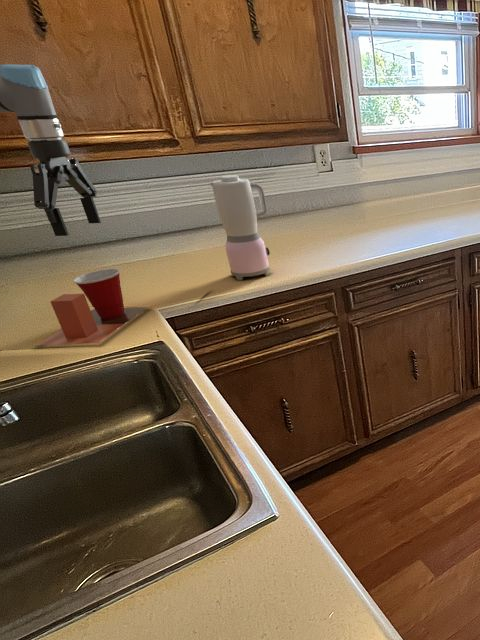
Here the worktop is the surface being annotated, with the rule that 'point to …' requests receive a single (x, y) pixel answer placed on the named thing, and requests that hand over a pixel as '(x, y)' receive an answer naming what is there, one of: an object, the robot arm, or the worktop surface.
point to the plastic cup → (103, 291)
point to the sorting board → (104, 330)
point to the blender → (241, 225)
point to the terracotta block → (74, 315)
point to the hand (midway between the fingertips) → (79, 229)
